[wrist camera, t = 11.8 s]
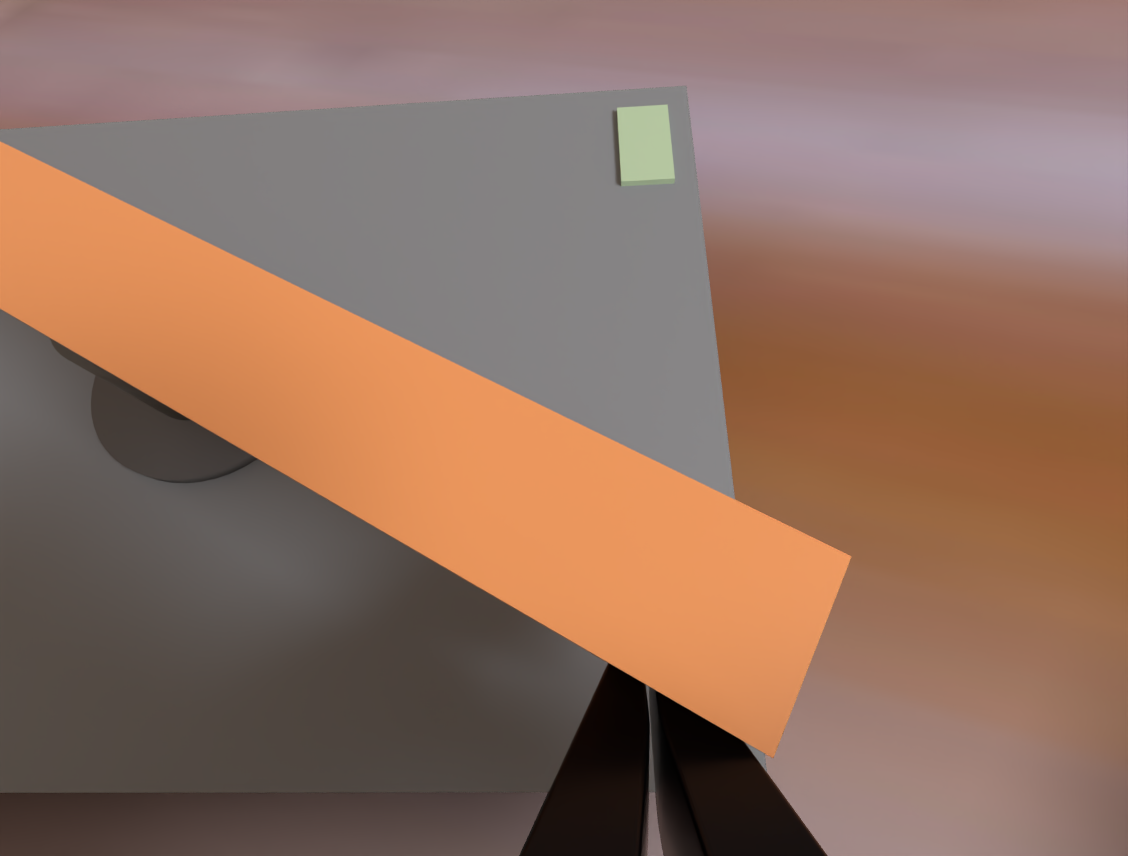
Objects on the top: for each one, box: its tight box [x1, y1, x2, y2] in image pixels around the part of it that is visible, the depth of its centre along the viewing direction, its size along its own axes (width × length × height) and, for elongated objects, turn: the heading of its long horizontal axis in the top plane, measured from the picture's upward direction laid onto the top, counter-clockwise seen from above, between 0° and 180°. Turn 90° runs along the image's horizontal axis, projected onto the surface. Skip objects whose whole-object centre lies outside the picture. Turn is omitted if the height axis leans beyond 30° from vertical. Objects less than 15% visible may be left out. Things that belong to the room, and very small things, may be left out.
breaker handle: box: [0, 142, 851, 758], centre depth 13 cm, size 3×30×7 cm, turn 61°
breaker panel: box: [0, 86, 767, 793], centre depth 18 cm, size 20×28×3 cm
